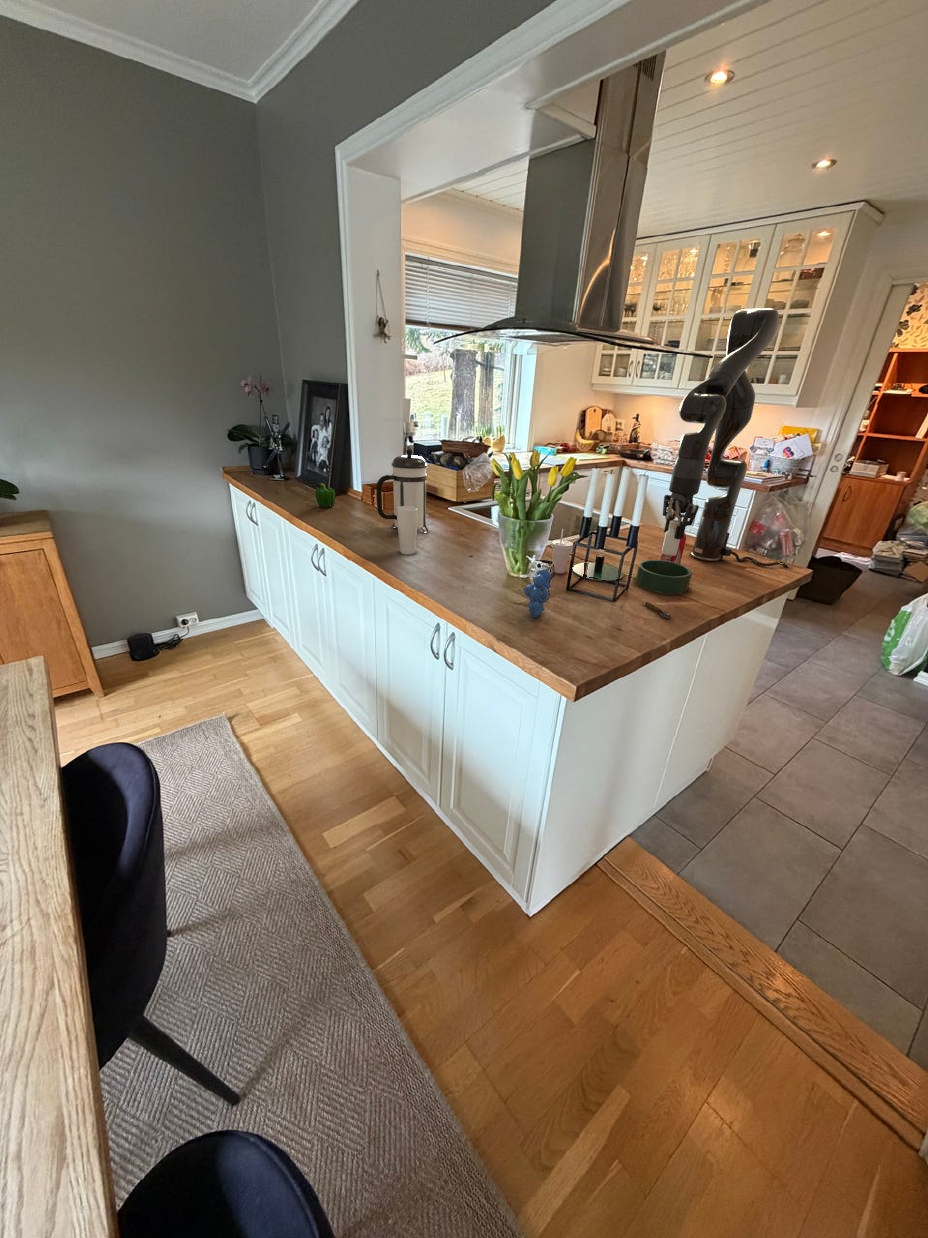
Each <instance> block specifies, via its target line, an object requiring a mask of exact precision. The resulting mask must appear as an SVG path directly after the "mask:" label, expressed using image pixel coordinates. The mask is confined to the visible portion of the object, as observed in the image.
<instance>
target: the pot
mask: <svg viewBox="0 0 928 1238" xmlns="http://www.w3.org/2000/svg"><path fill="white" fill-rule="evenodd" d="M692 575H693V572H692V570H691V568H689V567H687V566H685V565H683V564H681V563H680V564H678V563H674V562H670V561H663V560H660V559H647V560H642V561H640V562H639V563H638V566H637V571H636V576H635V582H636V583H637V584H638V585H639V586H640V587H642V588H644V589H646V590H649V591H652V592H657V593H662V594H671V595H672V594H682V593H685V592H687V590H688V589H689V586H690V584H691V583H690V582H691V579H692Z"/></svg>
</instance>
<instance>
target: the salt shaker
mask: <svg viewBox="0 0 928 1238" xmlns="http://www.w3.org/2000/svg"><path fill="white" fill-rule="evenodd" d="M677 523H678V519H677V520H676V519H674V520H671V521H670V524H669V530H668V531H666V533H664V534H665V535H664V539H663V544H662V548H661V554H665V555H672V556H675V555H676V554H677V550H678V546H679V542H680V539H675V538H674V536H675V532H676V528H677V526H678V525H677Z"/></svg>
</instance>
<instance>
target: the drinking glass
mask: <svg viewBox="0 0 928 1238" xmlns="http://www.w3.org/2000/svg"><path fill="white" fill-rule="evenodd" d="M397 525H398V528H397V533H398V543H399V552H400V554H403V555H407V556H408V555H414V554H415V553H416V551H417V535H418V534H417V533H418V530H417V525H418V509H417V508H416V507H413V506H401V507H398V508H397Z"/></svg>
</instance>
